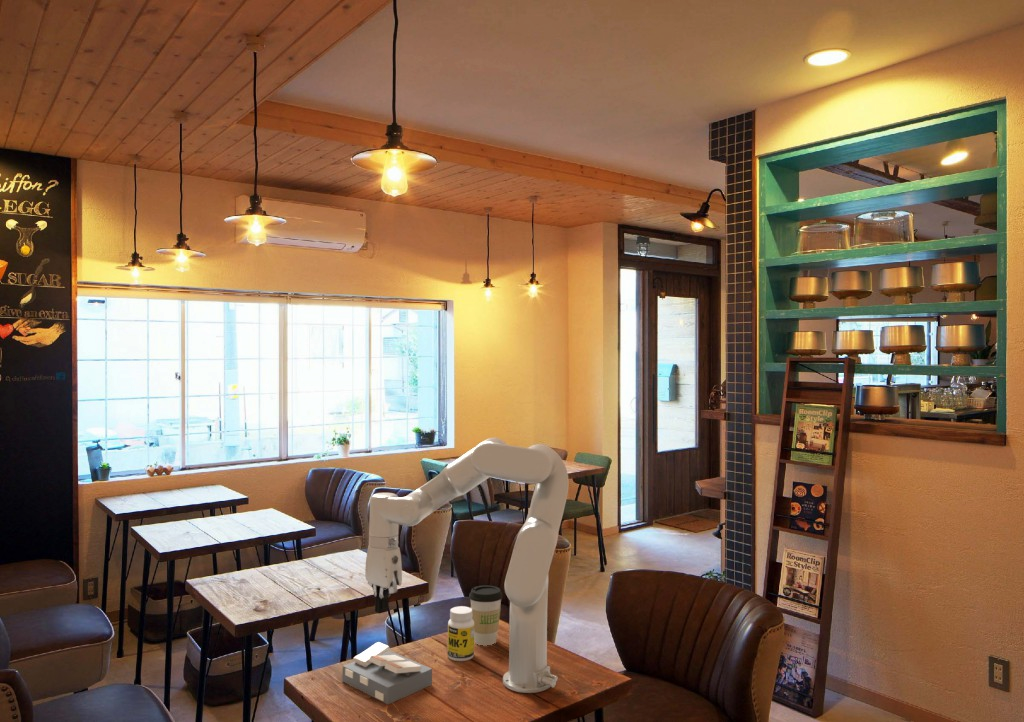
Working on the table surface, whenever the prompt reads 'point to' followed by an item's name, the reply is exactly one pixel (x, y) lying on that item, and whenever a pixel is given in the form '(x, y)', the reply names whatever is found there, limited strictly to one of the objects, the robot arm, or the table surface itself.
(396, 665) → the block
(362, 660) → the block
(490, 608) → the coffee cup
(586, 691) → the table surface
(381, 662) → the rocker
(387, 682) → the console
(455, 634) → the supplement bottle
